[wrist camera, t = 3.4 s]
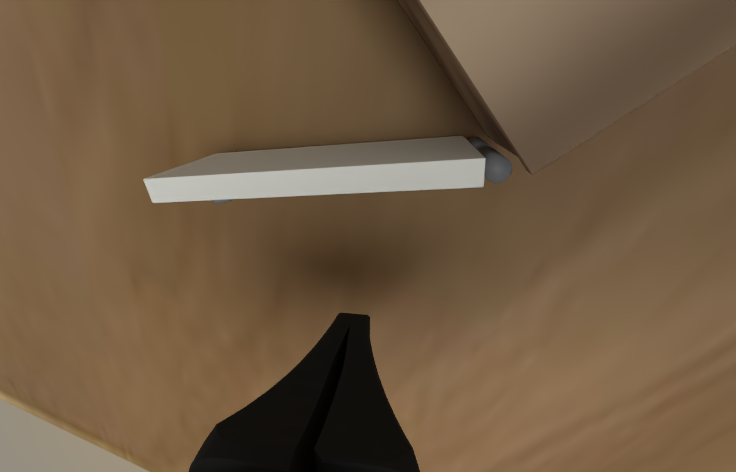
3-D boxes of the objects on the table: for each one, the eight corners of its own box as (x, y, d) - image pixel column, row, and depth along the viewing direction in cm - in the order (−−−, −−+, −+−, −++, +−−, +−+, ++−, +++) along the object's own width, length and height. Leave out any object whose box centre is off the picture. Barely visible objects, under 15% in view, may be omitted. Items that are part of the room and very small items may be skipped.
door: (483, 134, 15) (515, 156, 10) (480, 171, 16) (509, 207, 11) (216, 153, 17) (143, 179, 12) (225, 185, 18) (159, 221, 13)
